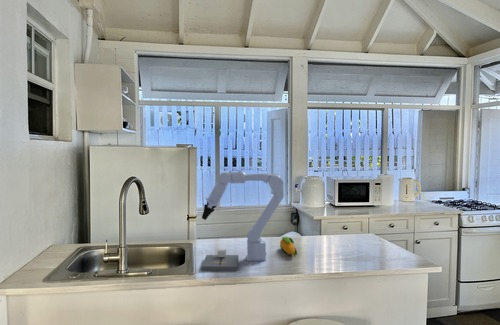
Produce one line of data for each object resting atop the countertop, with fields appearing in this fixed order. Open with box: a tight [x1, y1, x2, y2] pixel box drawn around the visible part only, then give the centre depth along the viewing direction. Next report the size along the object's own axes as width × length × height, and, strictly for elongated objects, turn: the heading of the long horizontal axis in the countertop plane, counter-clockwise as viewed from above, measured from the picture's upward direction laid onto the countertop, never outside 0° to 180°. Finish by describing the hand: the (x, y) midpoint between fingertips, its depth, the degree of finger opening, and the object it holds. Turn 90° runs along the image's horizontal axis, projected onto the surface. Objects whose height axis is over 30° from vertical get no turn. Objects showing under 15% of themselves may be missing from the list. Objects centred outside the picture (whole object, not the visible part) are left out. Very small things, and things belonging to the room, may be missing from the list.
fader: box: [217, 248, 227, 257], centre depth 165 cm, size 4×2×3 cm, turn 89°
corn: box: [279, 236, 298, 256], centre depth 178 cm, size 7×8×20 cm
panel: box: [201, 254, 240, 272], centre depth 160 cm, size 16×16×2 cm
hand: (204, 216), depth 171 cm, fingers open, 7 cm apart
